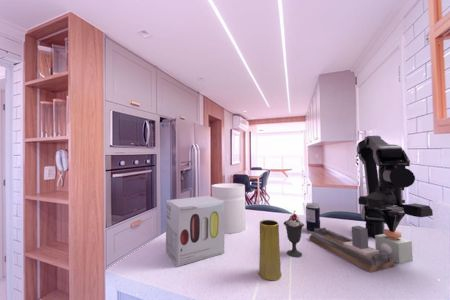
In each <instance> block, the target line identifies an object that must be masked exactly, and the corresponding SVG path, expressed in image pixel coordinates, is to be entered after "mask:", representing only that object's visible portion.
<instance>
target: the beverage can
mask: <svg viewBox="0 0 450 300" xmlns="http://www.w3.org/2000/svg"><path fill="white" fill-rule="evenodd" d="M320 209H321V208H320V206H319V204H318V203H314V202H308V203H306V206H305V224H306V227H305V228H306V231H308V232H309V233H311V232H315V231H314V229H317V228H321V210H320Z"/></svg>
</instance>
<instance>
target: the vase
mask: <svg viewBox="0 0 450 300" xmlns="http://www.w3.org/2000/svg"><path fill="white" fill-rule="evenodd" d="M279 229H280V228H279V222H278V221H277V220H273V219H263V220H261V221H259V268H258V269H259V270H258V275H259V276H260V277H261V278H262V279H264V280H267V281H277V280H280V279H281V278H282V272H281V249H280V248H281V247H280V232H279V231H280V230H279Z"/></svg>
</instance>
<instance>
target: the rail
mask: <svg viewBox="0 0 450 300" xmlns="http://www.w3.org/2000/svg"><path fill="white" fill-rule="evenodd" d="M314 231H315V232H310V235H309V241H311V242H313V243H315V244H317V245H318V246H320V247H321V248H324V249H326V250H327V251H329V252H331V253H333V254H335V255H337V256H338V257H341V258H342V259H343V260H346V261H348V262H350V263H351V264H353V265H355V266H357V267H358V268H360V269H363V271H366V272H367V273H373V272H376V271H377V272H378V271H381V270H386V269H389V268H394V267H395V262H394V261H392V256H390V255H388V254H387V253H382V252H380V251H379V254H374V255H372V259H370V258H368V257H366V256H364V255H362V254H360V253H358V252H355V251H353V250H351V249H349V248H347V247H345V246H343V243H344V242H350V241H352V238H349V237H347V236H344V235H341V234H340V233H336V232H335V231H333V230H330V229H327V227H320V228H317V229H314Z"/></svg>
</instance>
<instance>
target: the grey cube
mask: <svg viewBox="0 0 450 300" xmlns="http://www.w3.org/2000/svg"><path fill="white" fill-rule="evenodd" d="M374 241H375V242H374V243H375V249H376V250H378V251H380V252H382V253H387V254H388V255H390V256H392V261H394V263H396V264H400V265H401V264H406V263H409V262H413V261H414V259H413V258H414V257H413V244H412V242H413V241H412V240H409V239H406V238H403V237H401V238H397V240H395V241H394V240H391V239H389V236H386V235H384V234H381V235H375V238H374Z"/></svg>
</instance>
